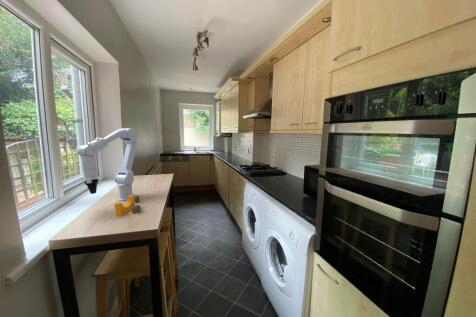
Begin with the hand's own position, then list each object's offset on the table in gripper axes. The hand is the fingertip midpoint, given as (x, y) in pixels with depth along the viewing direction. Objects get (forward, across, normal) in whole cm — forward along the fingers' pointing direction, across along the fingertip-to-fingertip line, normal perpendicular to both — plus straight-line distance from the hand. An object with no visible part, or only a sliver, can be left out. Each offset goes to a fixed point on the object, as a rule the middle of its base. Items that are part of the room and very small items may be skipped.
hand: (93, 193), depth 100 cm
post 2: (+9, +14, +19) cm, 25 cm away
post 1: (+9, -2, +19) cm, 21 cm away
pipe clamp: (+10, +9, +14) cm, 19 cm away
